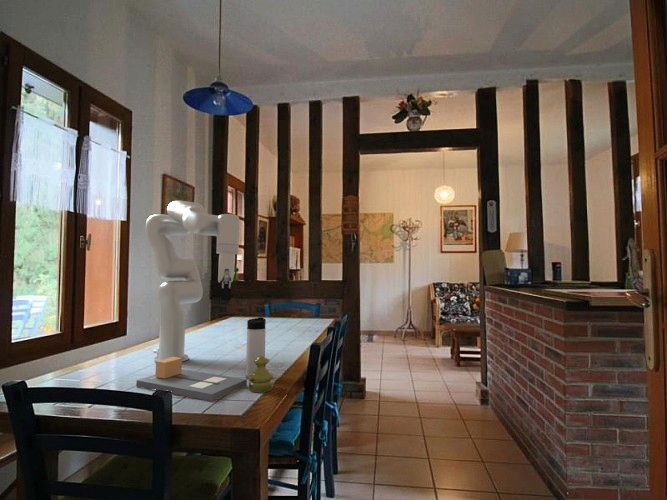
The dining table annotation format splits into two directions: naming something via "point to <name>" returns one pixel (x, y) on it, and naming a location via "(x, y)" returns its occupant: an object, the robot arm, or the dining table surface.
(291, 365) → the dining table surface
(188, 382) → the fader console
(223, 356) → the dining table surface
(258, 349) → the travel mug
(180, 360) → the fader knob
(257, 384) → the olive metallic turned piece
